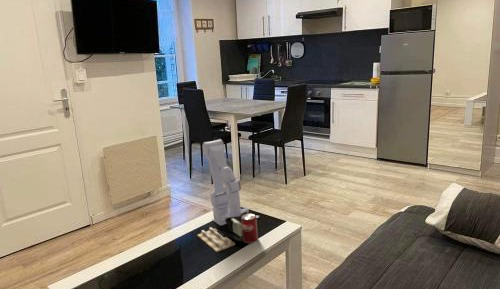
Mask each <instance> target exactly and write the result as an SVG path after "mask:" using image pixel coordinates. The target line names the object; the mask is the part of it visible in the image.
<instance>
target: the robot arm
mask: <svg viewBox="0 0 500 289" xmlns="http://www.w3.org/2000/svg"><path fill="white" fill-rule="evenodd" d="M202 151H203V156H204V158H205V159H207V160H208V165H209V166H208V167H209V169H210V175H211V178H212V179H211V180H212V183H213V190H212V191H211V193H210V203H211V205H212V213H213V214H212V215H213V218H212V221H213V222H214V223H216V224H217V225H219V226H224V225H227V227H228V229H229V232H230V233H234V232H233V220H231V219H232V218H234V217H238V219H239V222H240V223H241V217H242V216H243V215H245V214H250V213H249V212H250V211H249V210H250V209H249V208H247V207H245V208H241V198H240V191H241V189H242V185H241V181H240V180H239V179H238V177H236V175H235V174H234V172H233V169H232V167H230V166H228V163H227V159H226V157H225V154H224V151H225V145H224V141H223V140H222V139H221V138H219V139H216V140H212V141H204V142H203V144H202ZM223 183H224V184H223Z"/></svg>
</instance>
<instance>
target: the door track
mask: <svg viewBox="0 0 500 289" xmlns="http://www.w3.org/2000/svg"><path fill="white" fill-rule="evenodd" d="M208 228H209V229H208V230H207V231H205V230H204V229H202V230H201V232H200V233H198V234H197V237H198V238H199V240H202V241H203V242H204V243H205V244H206V245H208V247H210V249H212V250H213V251H214V252H215V253H218V252H221V251H223V250H226V249H228V248H230V247H233V246H235V245H236V243H235V242H234V241H232V239H230V238H228V237H227V236H226V237H223V236H222V235H221V234H219V233H218V232H217V231H219V230H218V229H217V228H213V227H212V226H211V227H208Z"/></svg>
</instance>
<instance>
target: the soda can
mask: <svg viewBox="0 0 500 289" xmlns="http://www.w3.org/2000/svg"><path fill="white" fill-rule="evenodd" d="M257 221H258V220H257V215H255V214H253V213H246V214H245V215H243V216H242V217H241V226H242V236H241V237H242V241H243V242H244V243H247V244H253V243H256V242H257V241H258V240H259V235H258V222H257Z"/></svg>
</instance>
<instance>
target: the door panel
mask: <svg viewBox="0 0 500 289" xmlns="http://www.w3.org/2000/svg"><path fill="white" fill-rule="evenodd" d="M231 220H233V232H232V233H235V234H236V235H237V236H238V237H243V236H242V226H241V223H240V221H239V220H237V219H236V218H234V217H232V218H231Z"/></svg>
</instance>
